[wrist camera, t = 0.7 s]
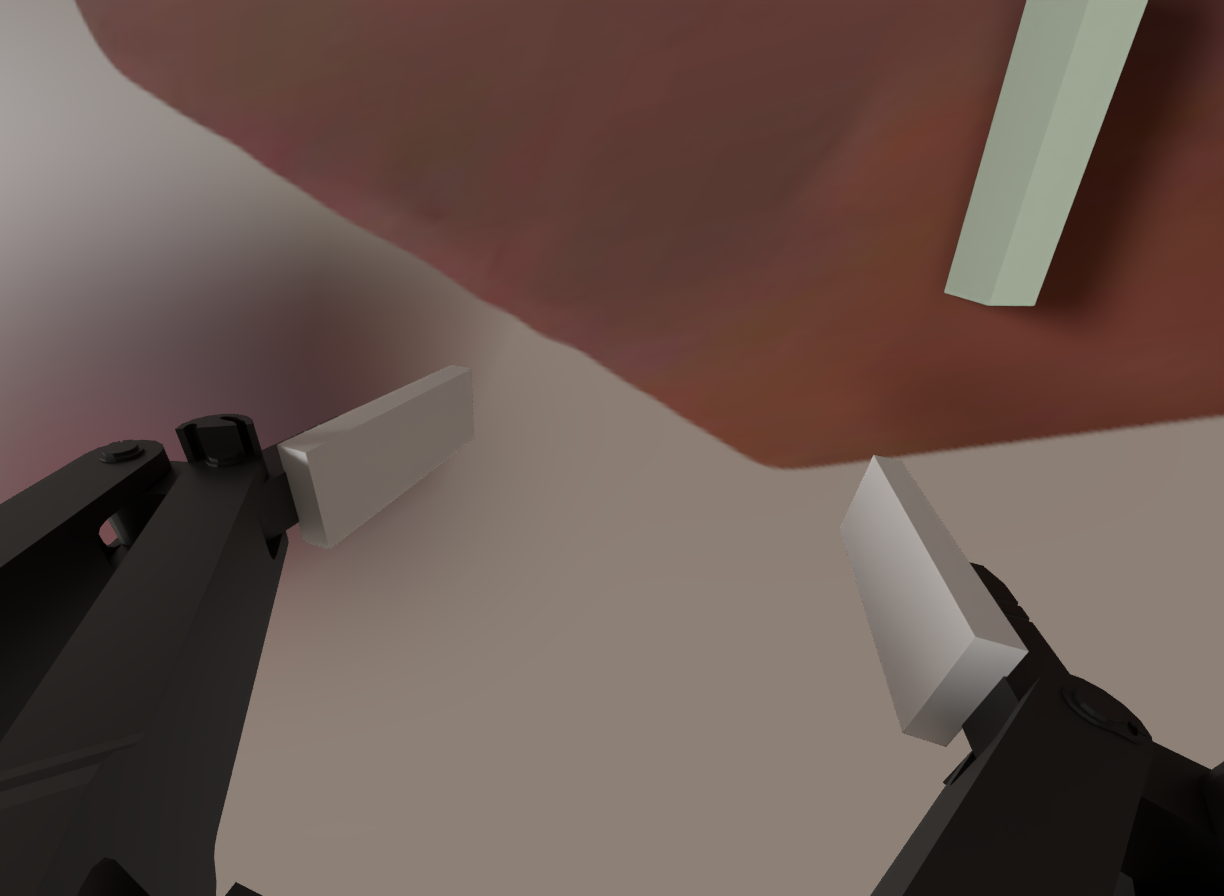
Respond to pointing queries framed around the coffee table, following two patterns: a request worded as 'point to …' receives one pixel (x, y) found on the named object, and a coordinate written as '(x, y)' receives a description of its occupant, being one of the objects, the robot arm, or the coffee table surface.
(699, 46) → the coffee table surface
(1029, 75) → the gate
